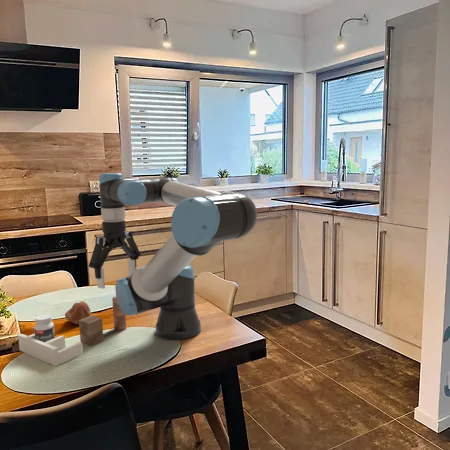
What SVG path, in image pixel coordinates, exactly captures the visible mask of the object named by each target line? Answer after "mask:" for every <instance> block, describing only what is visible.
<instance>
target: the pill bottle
mask: <svg viewBox="0 0 450 450" xmlns="http://www.w3.org/2000/svg"><path fill="white" fill-rule="evenodd" d="M52 318H53V317H52V315H51V314H41V315H37V316H36V317H34V323H36V324H34V326H33V331H34V333H33V334H35V339H37V340H39V341H42V342H47V341H49V340H52V339H54V338H56V336H55V325H54V322H53V321H52V320H53V319H52Z"/></svg>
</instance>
